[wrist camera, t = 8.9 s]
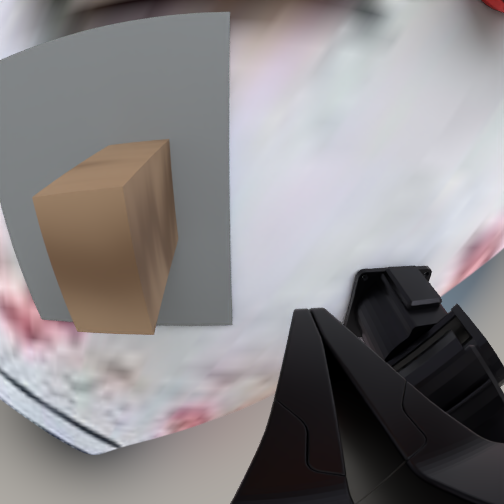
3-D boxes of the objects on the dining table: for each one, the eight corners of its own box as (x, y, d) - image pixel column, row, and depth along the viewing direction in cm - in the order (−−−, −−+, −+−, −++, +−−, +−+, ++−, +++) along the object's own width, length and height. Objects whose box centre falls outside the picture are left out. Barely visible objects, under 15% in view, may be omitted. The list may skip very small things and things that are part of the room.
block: (178, 238, 19) (153, 334, 12) (121, 240, 18) (74, 331, 11) (169, 138, 16) (122, 186, 9) (106, 145, 15) (28, 197, 8)
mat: (232, 319, 23) (232, 325, 22) (44, 314, 22) (41, 319, 21) (229, 14, 13) (230, 12, 12) (-12, 67, 12) (-17, 68, 11)
